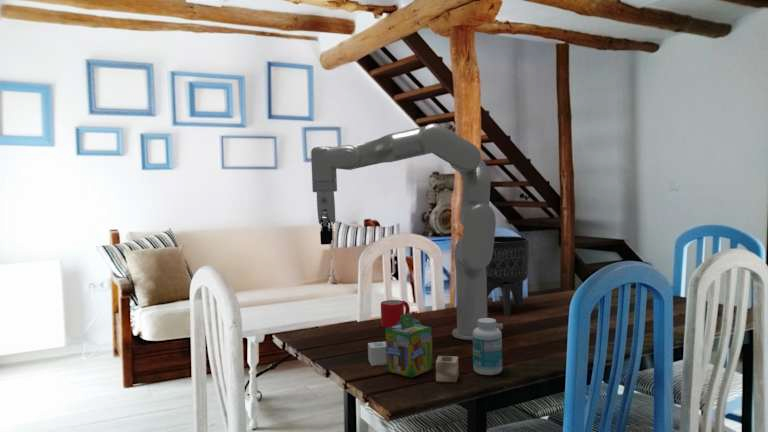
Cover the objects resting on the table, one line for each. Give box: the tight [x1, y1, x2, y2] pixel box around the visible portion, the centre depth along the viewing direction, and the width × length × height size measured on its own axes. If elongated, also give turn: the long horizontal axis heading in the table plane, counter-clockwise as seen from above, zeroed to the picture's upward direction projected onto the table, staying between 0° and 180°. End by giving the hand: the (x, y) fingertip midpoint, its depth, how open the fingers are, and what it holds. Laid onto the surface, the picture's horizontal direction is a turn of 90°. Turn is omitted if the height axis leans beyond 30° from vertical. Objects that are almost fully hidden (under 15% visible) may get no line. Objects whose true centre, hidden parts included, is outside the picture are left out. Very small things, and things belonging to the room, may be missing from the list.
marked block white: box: [367, 341, 387, 367], centre depth 165 cm, size 5×5×5 cm
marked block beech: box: [435, 355, 460, 383], centre depth 150 cm, size 5×5×5 cm
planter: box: [486, 235, 530, 317], centre depth 220 cm, size 20×20×26 cm
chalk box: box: [384, 312, 434, 379], centre depth 157 cm, size 9×9×15 cm
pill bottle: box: [472, 317, 503, 376], centre depth 154 cm, size 8×7×14 cm
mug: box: [380, 299, 411, 329], centre depth 206 cm, size 8×12×8 cm, turn 135°
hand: (326, 242), depth 185 cm, fingers open, 9 cm apart
